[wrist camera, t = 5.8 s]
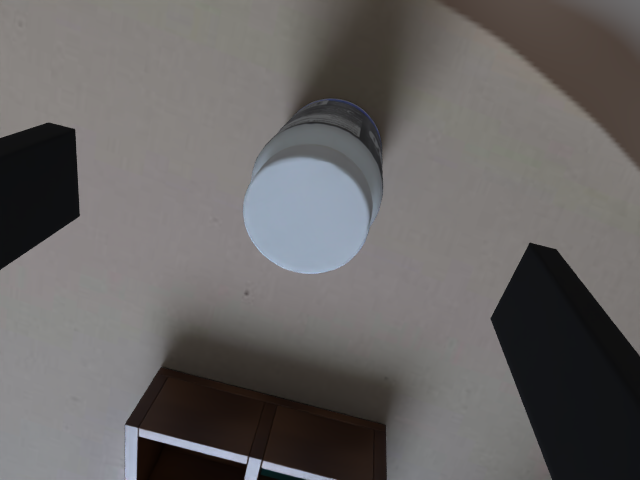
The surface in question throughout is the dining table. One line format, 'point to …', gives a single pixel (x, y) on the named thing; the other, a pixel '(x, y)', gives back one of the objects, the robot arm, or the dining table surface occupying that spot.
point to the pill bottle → (316, 188)
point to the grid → (244, 436)
